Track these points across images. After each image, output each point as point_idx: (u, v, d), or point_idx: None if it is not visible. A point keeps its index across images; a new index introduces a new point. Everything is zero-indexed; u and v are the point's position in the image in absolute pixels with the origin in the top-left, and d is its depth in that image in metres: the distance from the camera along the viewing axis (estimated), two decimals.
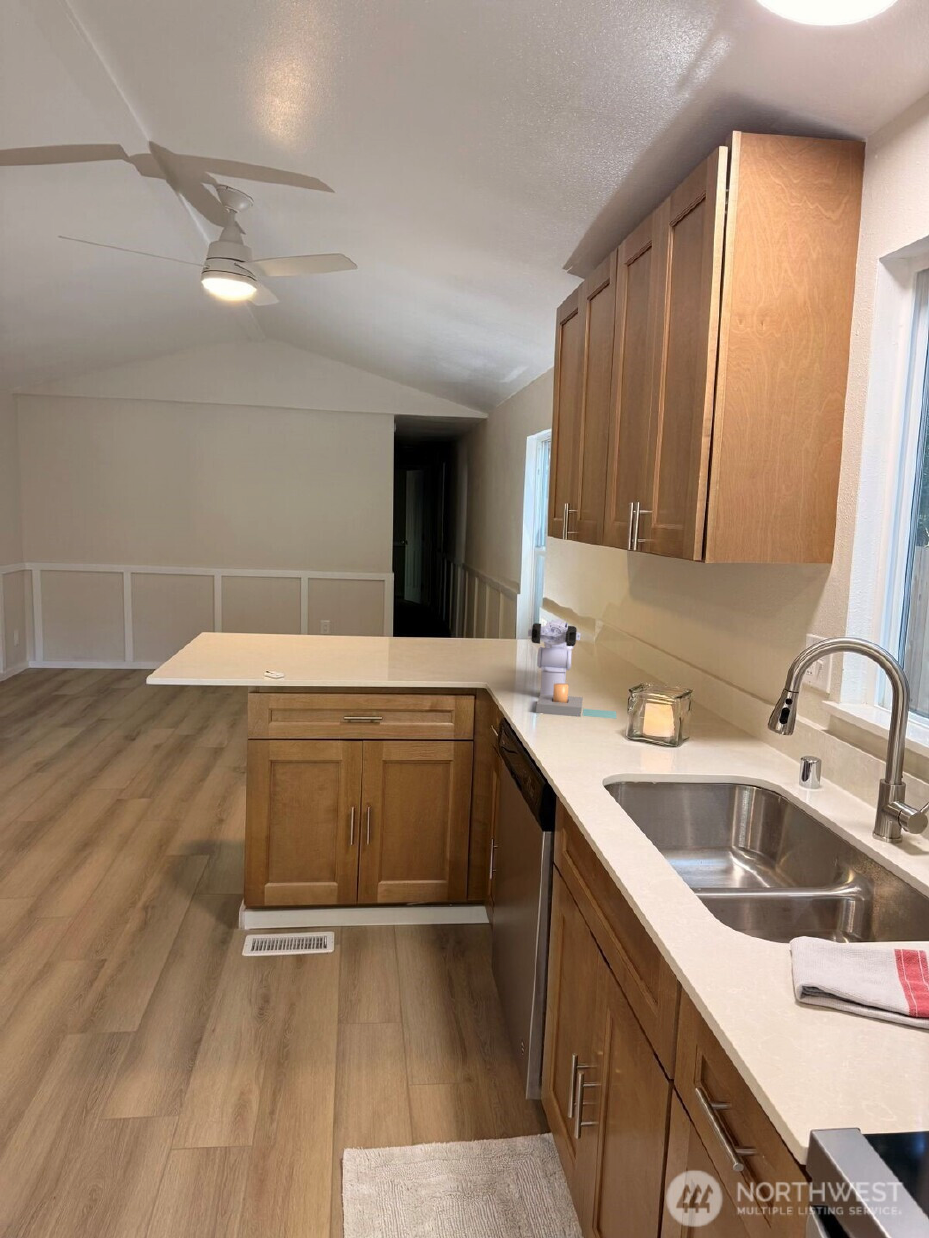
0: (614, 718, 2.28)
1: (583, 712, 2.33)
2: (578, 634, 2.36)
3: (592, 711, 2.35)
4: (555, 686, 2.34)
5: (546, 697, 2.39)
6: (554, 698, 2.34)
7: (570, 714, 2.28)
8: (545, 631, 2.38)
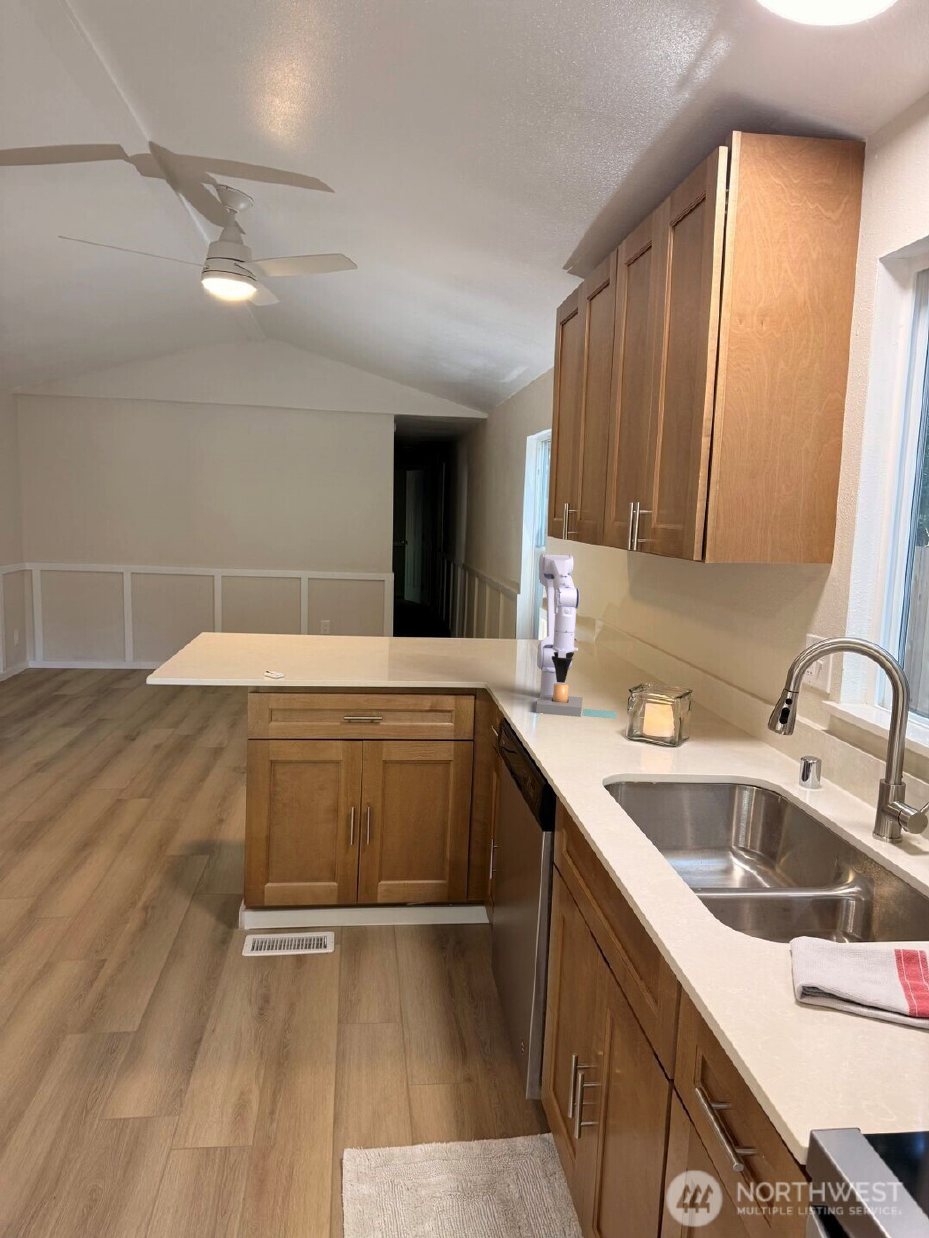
0: (614, 718, 2.28)
1: (583, 712, 2.33)
2: None
3: (592, 711, 2.35)
4: (555, 686, 2.34)
5: (546, 697, 2.39)
6: (554, 698, 2.34)
7: (570, 714, 2.28)
8: None
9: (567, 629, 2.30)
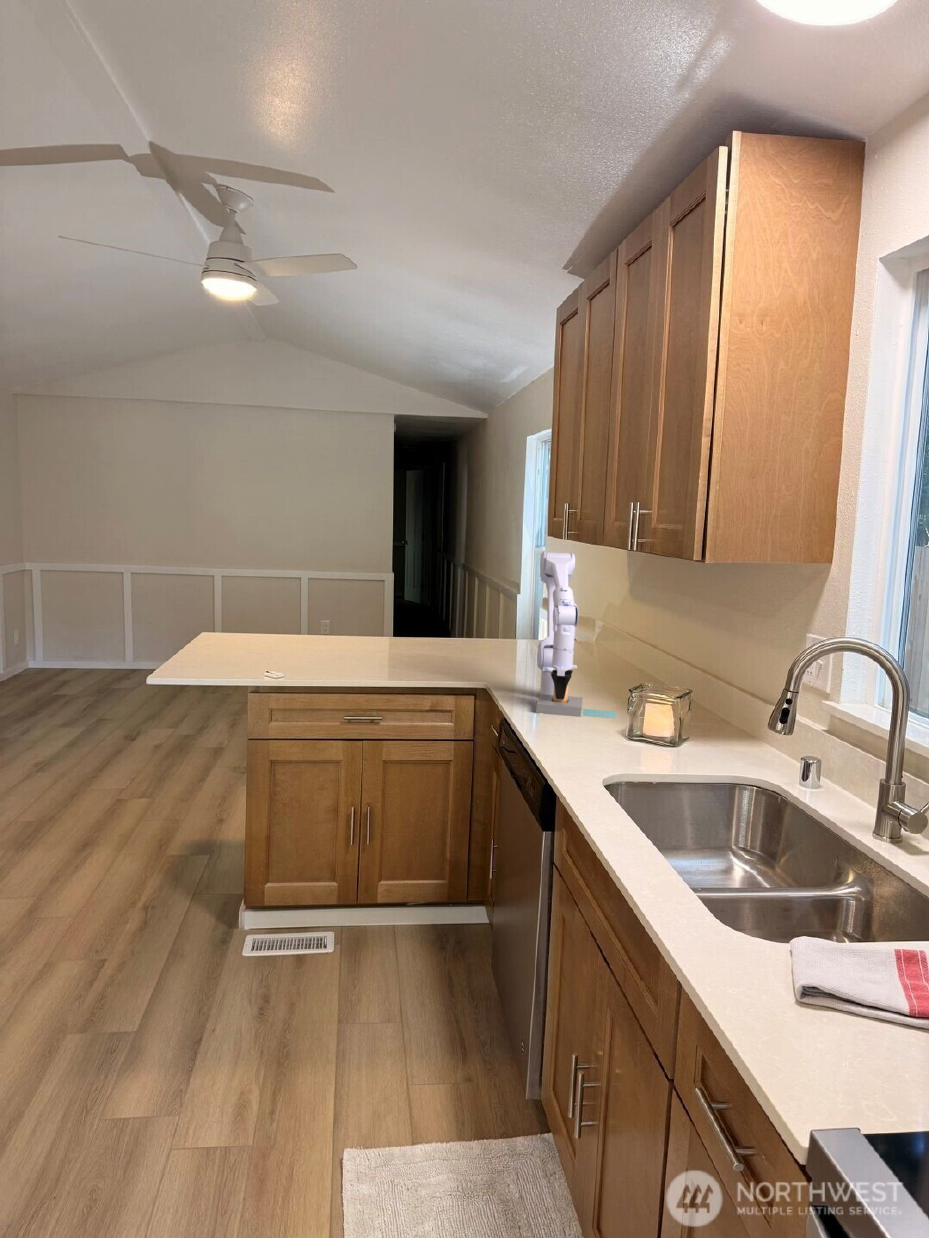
0: (614, 718, 2.28)
1: (583, 712, 2.33)
2: None
3: (592, 711, 2.35)
4: None
5: (546, 697, 2.39)
6: (554, 698, 2.34)
7: (570, 714, 2.28)
8: None
9: (566, 647, 2.31)
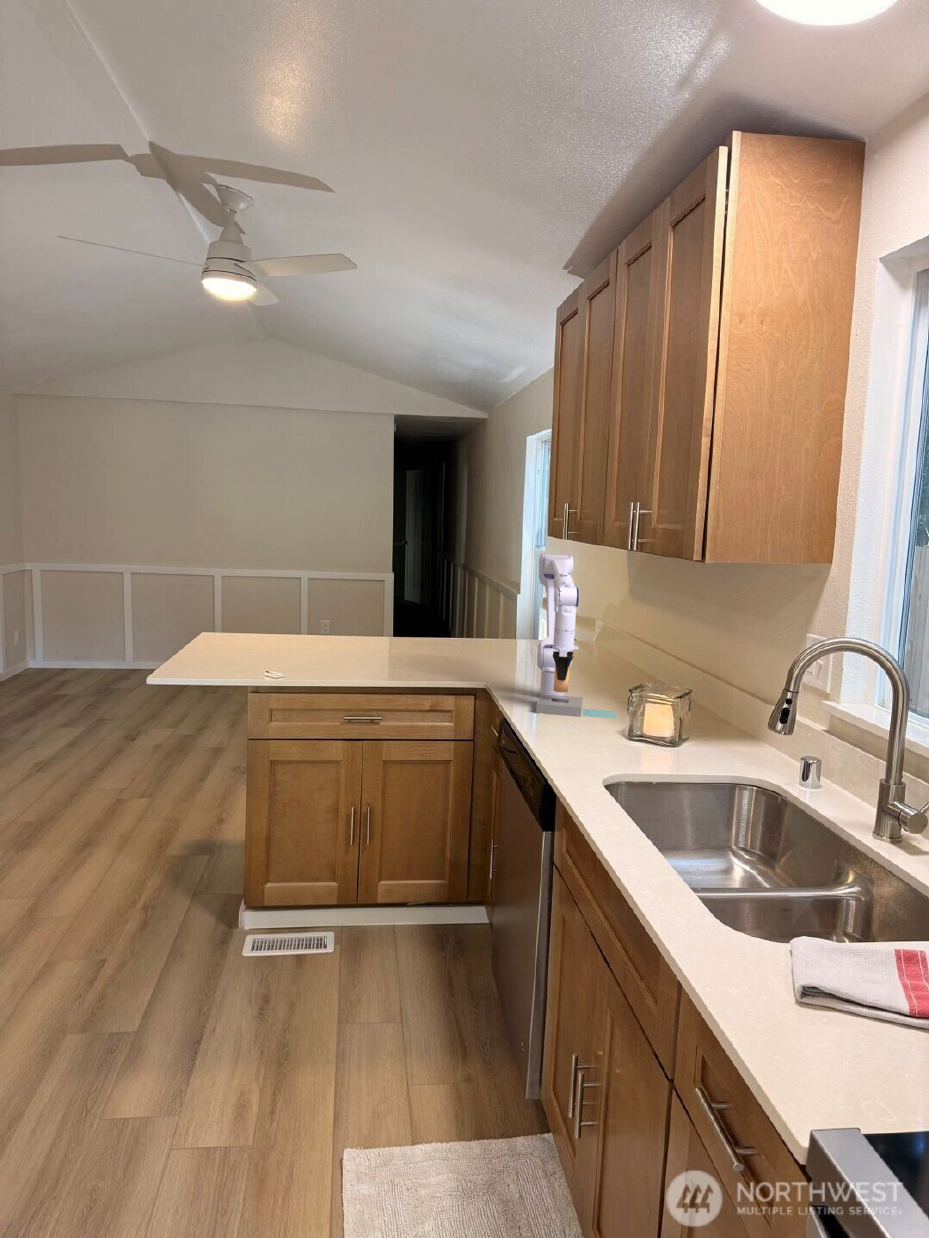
0: (614, 718, 2.28)
1: (583, 712, 2.33)
2: None
3: (592, 711, 2.35)
4: None
5: (546, 697, 2.39)
6: (555, 679, 2.34)
7: (570, 714, 2.28)
8: None
9: (567, 628, 2.30)
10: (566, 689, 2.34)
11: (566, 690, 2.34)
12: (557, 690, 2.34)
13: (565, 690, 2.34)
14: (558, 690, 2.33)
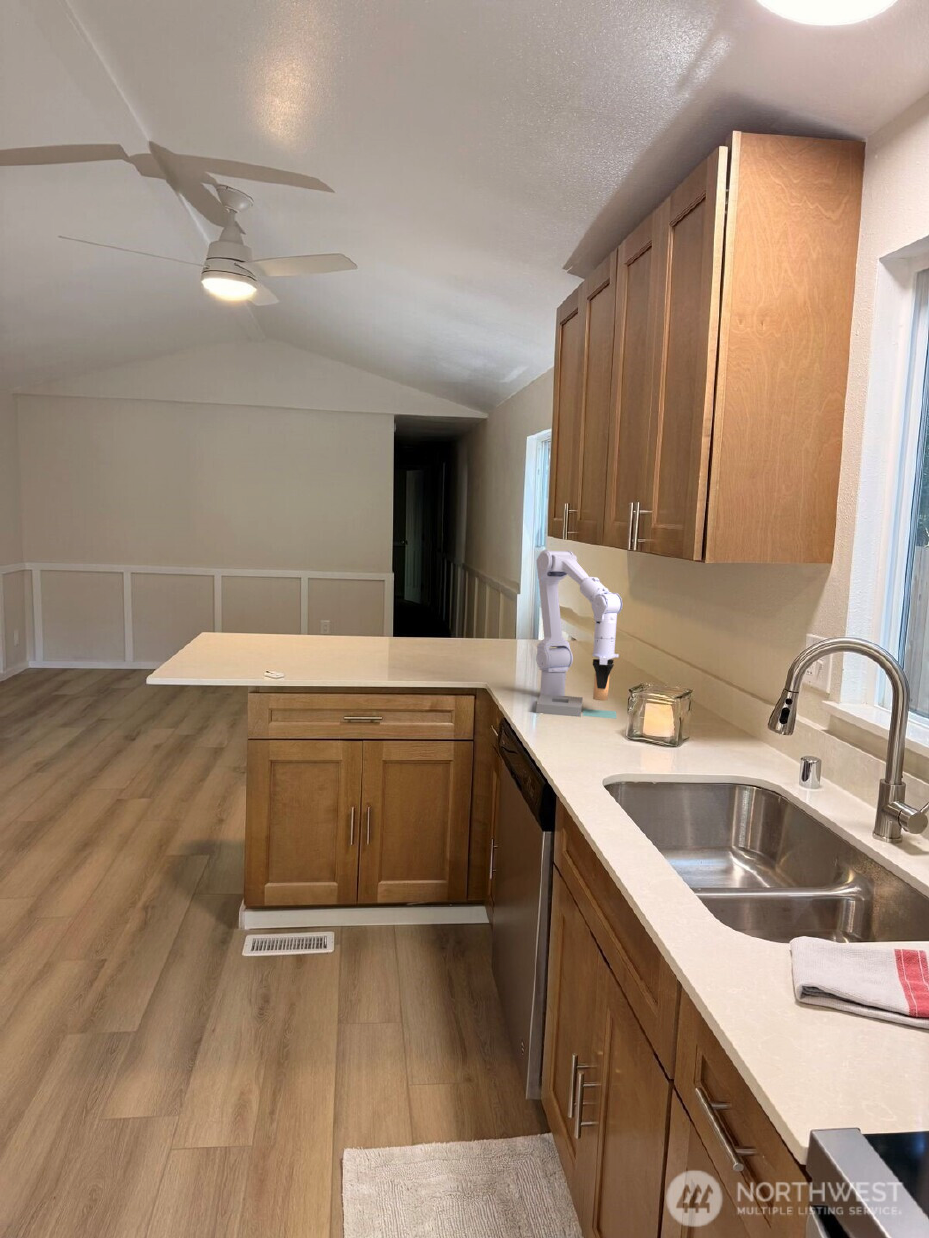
0: (614, 718, 2.28)
1: (583, 712, 2.33)
2: None
3: (592, 711, 2.35)
4: None
5: (546, 697, 2.39)
6: (595, 687, 2.31)
7: (570, 714, 2.28)
8: None
9: (612, 635, 2.28)
10: (606, 697, 2.31)
11: (606, 698, 2.31)
12: (597, 698, 2.31)
13: (605, 698, 2.31)
14: (598, 698, 2.31)
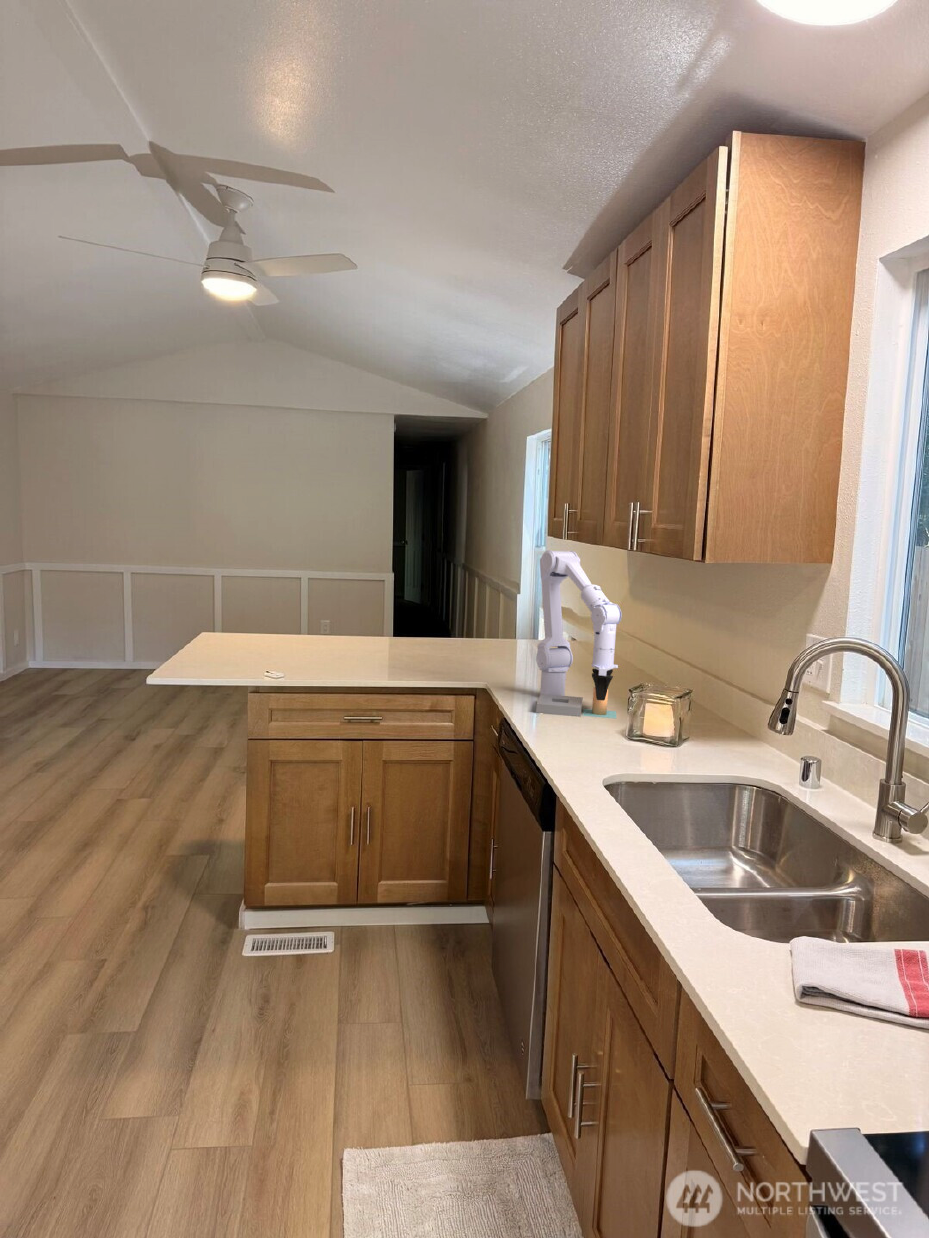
0: (614, 718, 2.28)
1: (583, 712, 2.33)
2: None
3: None
4: (595, 690, 2.31)
5: (546, 697, 2.39)
6: (594, 702, 2.32)
7: (570, 714, 2.28)
8: None
9: (612, 646, 2.29)
10: (605, 712, 2.31)
11: (605, 713, 2.32)
12: (595, 713, 2.31)
13: (604, 713, 2.31)
14: (596, 713, 2.31)
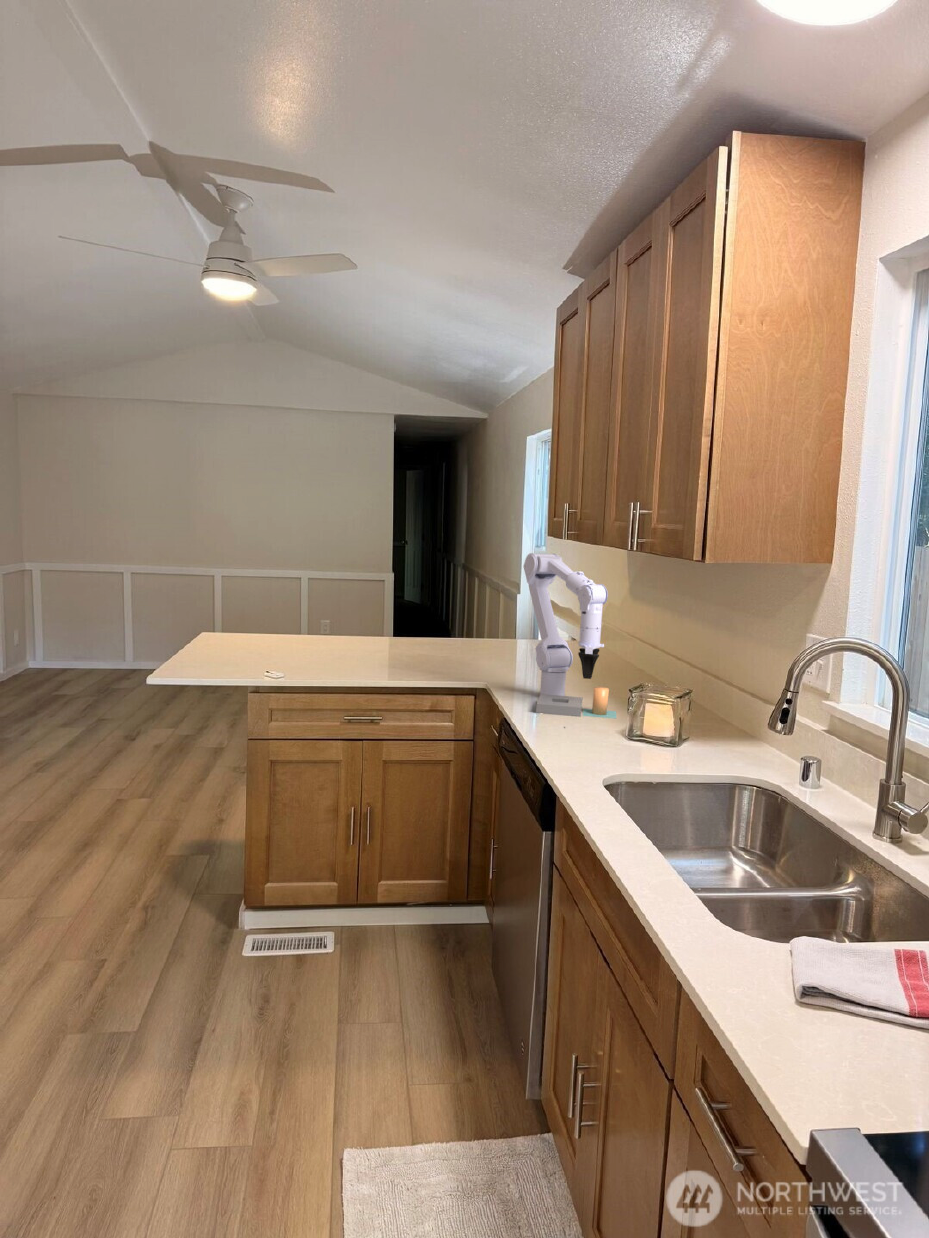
0: (614, 718, 2.28)
1: (583, 712, 2.33)
2: None
3: None
4: (595, 690, 2.31)
5: (546, 697, 2.39)
6: (594, 702, 2.32)
7: (570, 714, 2.28)
8: None
9: (598, 625, 2.33)
10: (605, 712, 2.31)
11: (605, 713, 2.32)
12: (595, 713, 2.31)
13: (604, 713, 2.31)
14: (596, 713, 2.31)
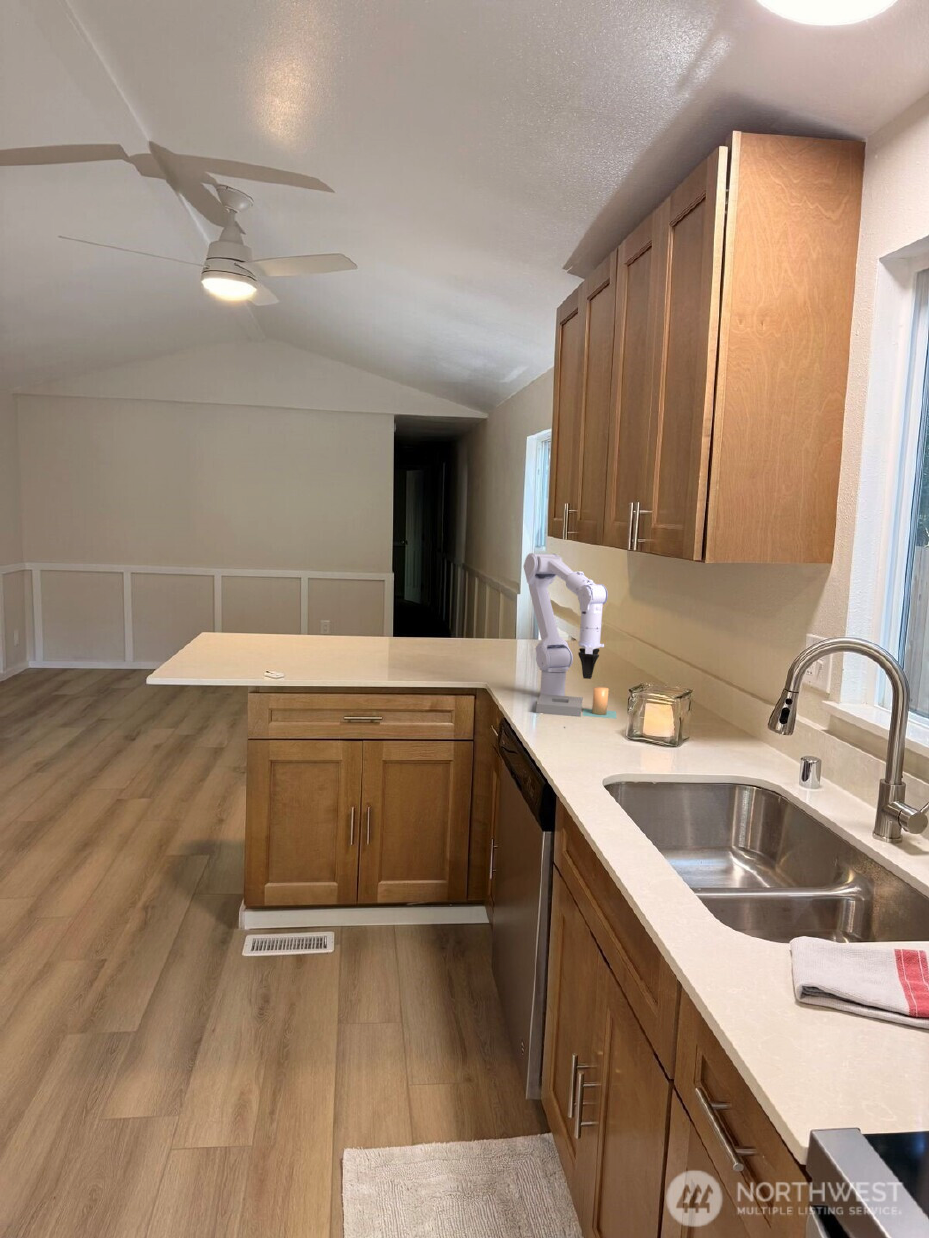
0: (614, 718, 2.28)
1: (583, 712, 2.33)
2: None
3: None
4: (595, 689, 2.31)
5: (546, 697, 2.39)
6: (594, 701, 2.32)
7: (570, 714, 2.28)
8: None
9: (598, 625, 2.33)
10: (605, 711, 2.31)
11: (604, 712, 2.32)
12: (595, 712, 2.31)
13: (603, 712, 2.31)
14: (596, 712, 2.31)
